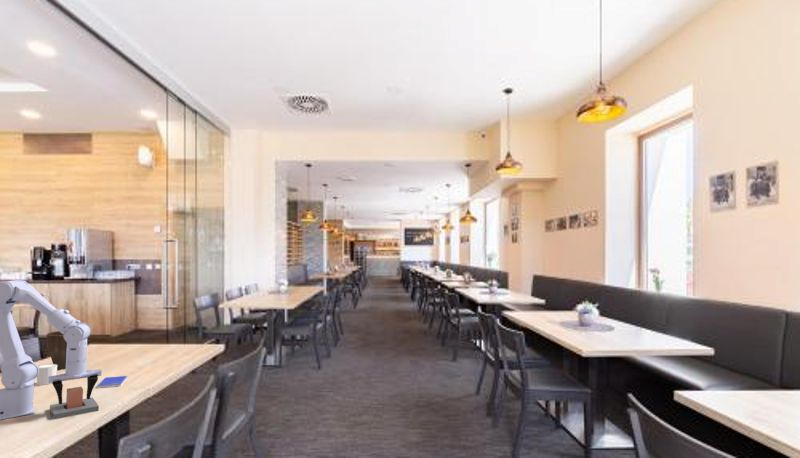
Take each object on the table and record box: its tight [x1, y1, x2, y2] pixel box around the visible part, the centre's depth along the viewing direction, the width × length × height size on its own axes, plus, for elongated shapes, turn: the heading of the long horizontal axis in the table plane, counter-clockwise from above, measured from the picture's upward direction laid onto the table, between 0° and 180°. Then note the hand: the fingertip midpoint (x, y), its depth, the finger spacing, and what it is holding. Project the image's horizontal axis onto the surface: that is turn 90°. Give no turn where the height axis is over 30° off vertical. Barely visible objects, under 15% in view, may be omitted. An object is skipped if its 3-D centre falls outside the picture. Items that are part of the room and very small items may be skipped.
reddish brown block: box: [65, 386, 84, 409], centre depth 151 cm, size 4×4×7 cm
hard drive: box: [96, 375, 128, 389], centre depth 182 cm, size 2×8×12 cm
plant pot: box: [46, 330, 67, 370], centre depth 206 cm, size 15×15×16 cm
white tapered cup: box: [36, 363, 58, 386], centre depth 181 cm, size 7×7×7 cm
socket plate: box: [49, 396, 100, 420], centre depth 151 cm, size 12×12×2 cm
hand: (74, 400), depth 151 cm, fingers open, 7 cm apart
